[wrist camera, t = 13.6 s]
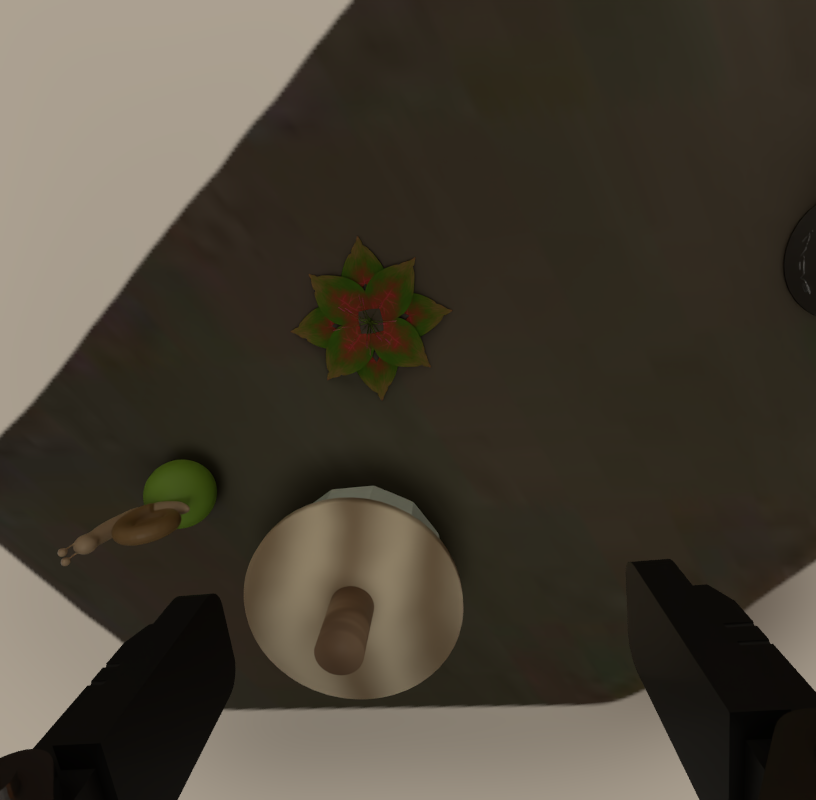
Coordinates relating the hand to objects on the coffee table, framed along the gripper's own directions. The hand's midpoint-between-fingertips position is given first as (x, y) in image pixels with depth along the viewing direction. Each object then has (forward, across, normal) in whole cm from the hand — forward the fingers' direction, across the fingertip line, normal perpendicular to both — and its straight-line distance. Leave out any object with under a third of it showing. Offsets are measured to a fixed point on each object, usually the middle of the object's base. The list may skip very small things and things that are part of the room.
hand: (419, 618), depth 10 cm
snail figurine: (+32, +22, +8) cm, 40 cm away
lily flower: (+33, +5, -4) cm, 33 cm away
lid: (+26, +8, +16) cm, 31 cm away
